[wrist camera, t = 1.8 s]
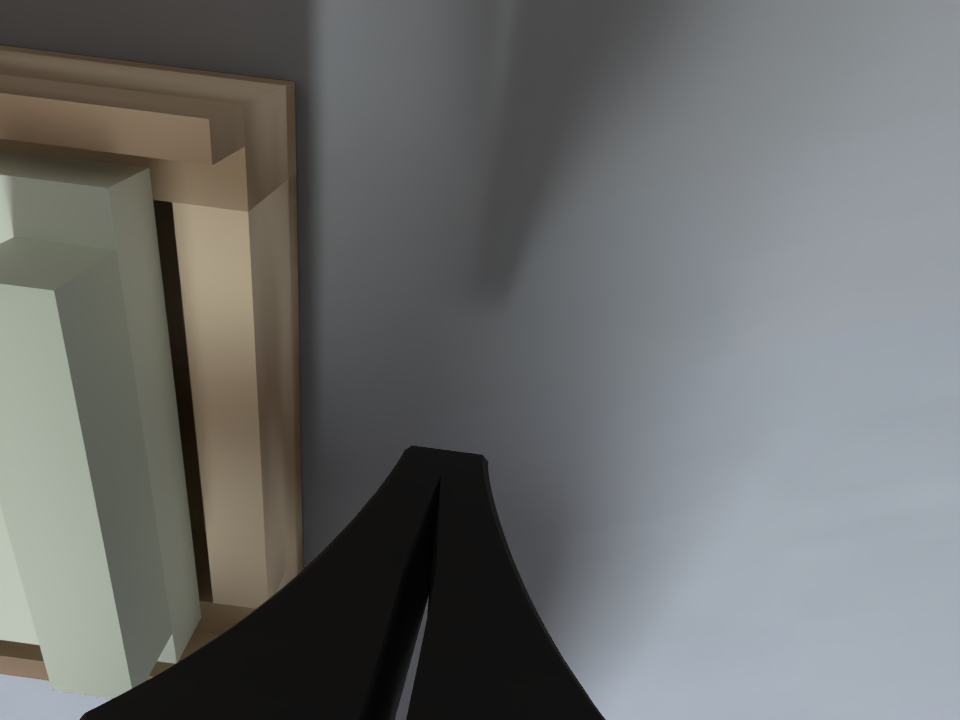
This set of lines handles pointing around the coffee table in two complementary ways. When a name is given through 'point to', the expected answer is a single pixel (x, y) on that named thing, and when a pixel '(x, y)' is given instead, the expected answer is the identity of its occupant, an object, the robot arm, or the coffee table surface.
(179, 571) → the cover plate
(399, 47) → the coffee table surface
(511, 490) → the coffee table surface
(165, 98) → the box
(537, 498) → the coffee table surface
